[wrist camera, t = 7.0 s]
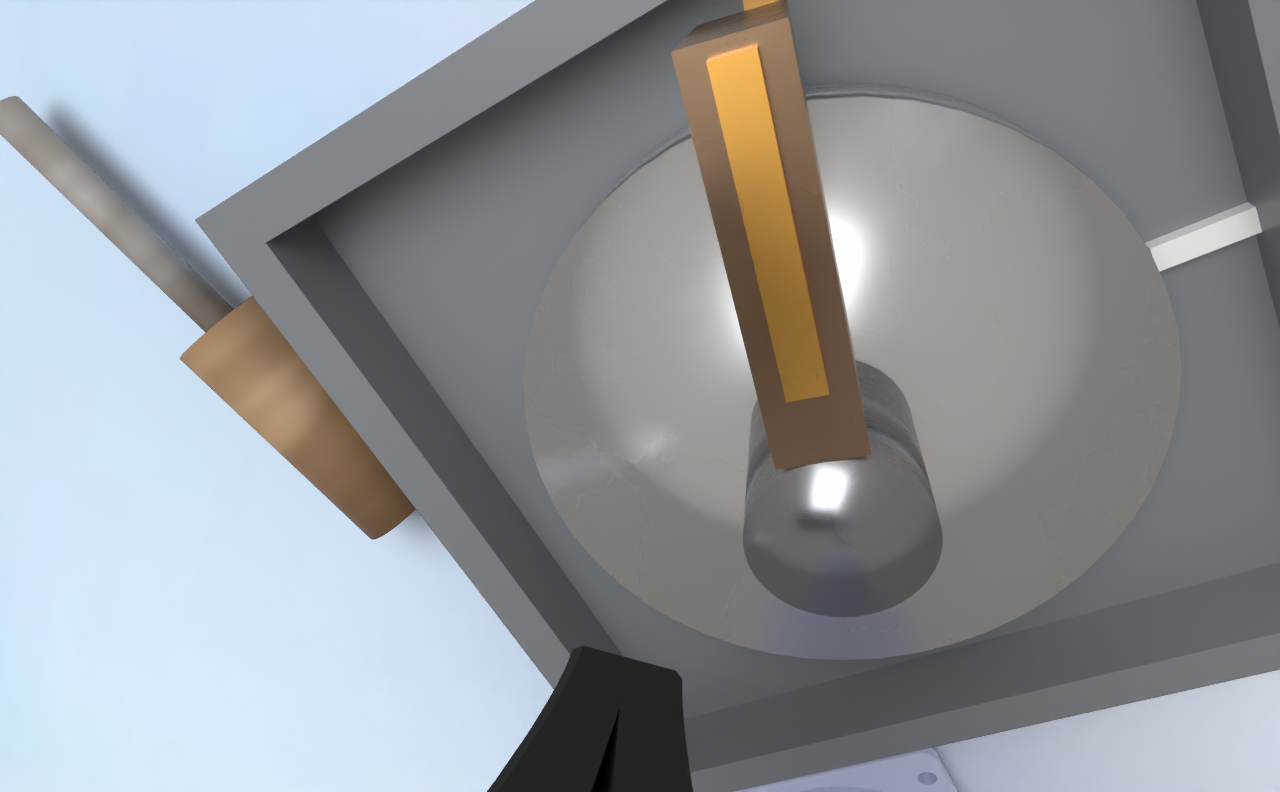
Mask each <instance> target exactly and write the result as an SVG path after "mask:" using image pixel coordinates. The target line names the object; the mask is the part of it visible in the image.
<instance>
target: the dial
mask: <svg viewBox="0 0 1280 792" xmlns="http://www.w3.org/2000/svg"><path fill="white" fill-rule="evenodd" d="M671 55H672V59H673V63H674V67H675V71H676V75H677V79H678V83H679V87H680V91H681V95H682V99H683V103H684V107H685V111H686V115H687V119H688V123H689V126H688V127H686V128H684V129H682V130H680V131H679V132H678V133H676V134H675V135H673V136H672V137H670V138H669V139H667V140H666V141H664V142H663V143H661V144H660V145H658V146H657V147H655V148H654V149H653V150H651V151H650V152H648V153H647V154H646V155H645V156H644V157H642V158H641V159H640V160H639V161H638V162H637V163H636V164H635V165H634V166H632V167H631V168H630V169H629V170H628V171H627V172H626V173H625V174H624V175H622V176H621V177H620V178H619V179H618V180H617V181H616V182H615V183H614V185H613V186H612V187H611V188H610V189H609V191H608V192H607V193H606V194H605V195H604V197H603V198H602V199H601V200H600V201H599V202H598V204H597V205H596V206H595V207H594V208H593V210H592V211H591V212H590V214H589V215H588V217H587V218H586V219H585V221H584V222H583V224H582V225H581V227H580V228H579V229H578V231H577V232H576V234H575V235H574V237H573V238H572V240H571V242H570V243H569V245H568V246H567V248H566V250H565V251H564V253H563V254H562V256H561V257H560V259H559V261H558V262H557V264H556V265H555V267H554V269H553V271H552V273H551V275H550V277H549V280H548V282H547V284H546V286H545V289H544V291H543V293H542V296H541V298H540V300H539V302H538V305H537V308H536V312H535V315H534V319H533V323H532V326H531V330H530V334H529V337H528V341H527V350H526V358H525V366H524V375H523V383H524V412H525V418H526V424H527V430H528V436H529V442H530V446H531V449H532V452H533V455H534V459H535V462H536V465H537V468H538V471H539V474H540V477H541V479H542V481H543V483H544V485H545V487H546V490H547V492H548V494H549V496H550V498H551V500H552V502H553V504H554V506H555V508H556V509H557V511H558V513H559V514H560V516H561V517H562V519H563V520H564V522H565V523H566V525H567V526H568V528H569V530H570V531H571V533H572V534H573V535H574V537H575V538H576V539H577V540H578V541H579V543H580V544H581V545H582V546H583V547H584V548H585V550H586V551H587V552H588V553H589V554H590V556H591V557H592V558H593V559H594V560H595V561H596V562H597V563H598V564H599V565H600V566H601V567H602V568H603V569H604V570H605V571H606V572H608V573H609V574H610V575H611V576H612V577H613V578H614V579H615V580H616V581H617V582H618V583H620V584H621V585H622V586H624V587H625V588H626V589H628V590H629V591H630V592H632V593H633V594H634V595H636V596H637V597H638V598H640V599H641V600H642V601H644V602H645V603H647V604H648V605H650V606H652V607H653V608H655V609H657V610H658V611H660V612H662V613H663V614H665V615H667V616H668V617H670V618H672V619H674V620H676V621H678V622H680V623H682V624H684V625H686V626H689V627H691V628H693V629H695V630H697V631H699V632H702V633H704V634H706V635H709V636H712V637H715V638H718V639H721V640H724V641H726V642H729V643H732V644H735V645H738V646H742V647H747V648H751V649H755V650H759V651H763V652H767V653H772V654H779V655H786V656H793V657H800V658H807V659H828V660H858V659H879V658H886V657H893V656H900V655H907V654H914V653H919V652H923V651H927V650H931V649H935V648H939V647H944V646H948V645H952V644H955V643H957V642H960V641H963V640H966V639H969V638H972V637H975V636H978V635H980V634H983V633H986V632H988V631H991V630H993V629H995V628H997V627H999V626H1001V625H1003V624H1006V623H1008V622H1010V621H1012V620H1014V619H1016V618H1018V617H1020V616H1022V615H1024V614H1026V613H1027V612H1029V611H1030V610H1032V609H1034V608H1035V607H1037V606H1039V605H1040V604H1042V603H1044V602H1045V601H1047V600H1049V599H1050V598H1052V597H1054V596H1055V595H1056V594H1057V593H1059V592H1060V591H1061V590H1063V589H1064V588H1065V587H1067V586H1068V585H1069V584H1070V583H1072V582H1073V581H1074V580H1076V579H1077V578H1078V577H1080V576H1081V575H1082V574H1083V573H1085V572H1086V571H1087V570H1088V569H1089V568H1090V567H1091V566H1092V565H1093V564H1094V563H1095V562H1096V561H1097V560H1098V559H1099V558H1100V557H1101V556H1102V555H1103V554H1104V553H1105V552H1106V551H1107V550H1108V549H1109V548H1110V547H1111V546H1112V545H1113V543H1114V542H1115V541H1116V540H1117V538H1118V537H1119V536H1120V535H1121V533H1122V532H1123V531H1124V530H1125V528H1126V527H1127V526H1128V525H1129V523H1130V522H1131V521H1132V519H1133V518H1134V517H1135V515H1136V514H1137V512H1138V510H1139V509H1140V507H1141V505H1142V504H1143V502H1144V500H1145V499H1146V497H1147V495H1148V494H1149V492H1150V490H1151V488H1152V487H1153V485H1154V483H1155V481H1156V479H1157V476H1158V474H1159V471H1160V469H1161V466H1162V464H1163V462H1164V459H1165V457H1166V454H1167V452H1168V450H1169V447H1170V443H1171V439H1172V435H1173V430H1174V426H1175V422H1176V418H1177V414H1178V410H1179V398H1180V386H1181V373H1182V367H1181V356H1180V344H1179V333H1178V327H1177V323H1176V320H1175V316H1174V312H1173V308H1172V304H1171V301H1170V297H1169V293H1168V290H1167V287H1166V285H1165V283H1164V281H1163V279H1162V276H1161V274H1160V272H1159V270H1158V268H1157V265H1156V263H1155V261H1154V259H1153V257H1152V255H1151V252H1150V250H1149V249H1148V248H1147V246H1146V245H1145V243H1144V242H1143V240H1142V239H1141V237H1140V236H1139V234H1138V233H1137V231H1136V230H1135V228H1134V227H1133V226H1132V224H1131V223H1130V221H1129V220H1128V218H1127V217H1126V215H1125V214H1124V213H1123V212H1122V211H1121V210H1120V209H1119V208H1118V207H1117V206H1116V205H1115V204H1114V202H1113V201H1112V200H1111V199H1110V198H1109V197H1108V196H1107V195H1106V194H1105V193H1104V192H1103V191H1102V190H1101V189H1100V188H1099V187H1098V186H1097V185H1096V184H1095V183H1094V182H1093V181H1092V180H1091V179H1090V178H1088V177H1087V176H1086V175H1085V174H1083V173H1082V172H1081V171H1080V170H1078V169H1077V168H1076V167H1074V166H1073V165H1072V164H1071V163H1069V162H1068V161H1067V160H1066V159H1064V158H1063V157H1062V156H1060V155H1059V154H1058V153H1056V152H1055V151H1054V150H1052V149H1051V148H1050V147H1048V146H1047V145H1046V144H1044V143H1043V142H1042V141H1041V140H1039V139H1038V138H1037V137H1035V136H1034V135H1033V134H1031V133H1030V132H1028V131H1027V130H1025V129H1023V128H1021V127H1019V126H1017V125H1015V124H1014V123H1012V122H1010V121H1008V120H1006V119H1004V118H1003V117H1001V116H999V115H997V114H995V113H993V112H991V111H989V110H987V109H984V108H981V107H978V106H976V105H973V104H970V103H967V102H965V101H962V100H959V99H956V98H954V97H951V96H948V95H944V94H939V93H934V92H930V91H925V90H920V89H915V88H911V87H906V86H899V85H884V84H870V83H841V84H826V85H811V86H805V87H804V84H803V79H802V74H801V69H800V63H799V58H798V53H797V47H796V42H795V37H794V32H793V26H792V21H791V16H790V10H789V5H788V0H780V1H776V2H773V3H770V4H766V5H763V6H760V7H756V8H753V9H750V10H746V11H743V12H740V13H736V14H733V15H730V16H726V17H723V18H720V19H716V20H713V21H710V22H706V23H703V24H700V25H697V26H696V27H695V28H694V29H693V30H692V31H691V32H690V33H689V34H688V35H687V36H686V37H685V38H684V39H683V40H682V41H681V42H680V43H679V44H678V45H677V46H676V47H675V48H674V49H673V50H672V51H671Z"/></svg>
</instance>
